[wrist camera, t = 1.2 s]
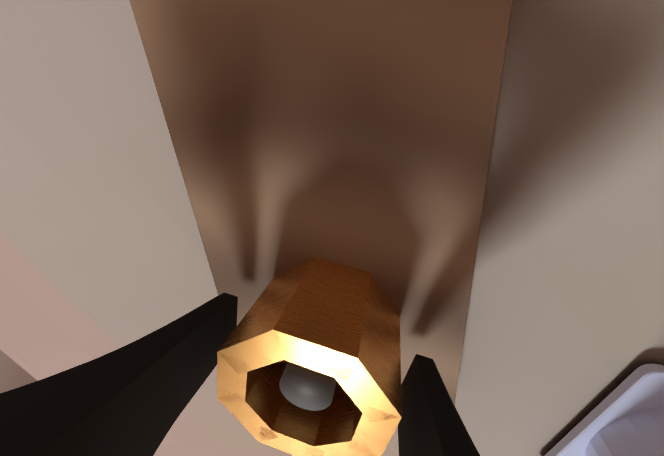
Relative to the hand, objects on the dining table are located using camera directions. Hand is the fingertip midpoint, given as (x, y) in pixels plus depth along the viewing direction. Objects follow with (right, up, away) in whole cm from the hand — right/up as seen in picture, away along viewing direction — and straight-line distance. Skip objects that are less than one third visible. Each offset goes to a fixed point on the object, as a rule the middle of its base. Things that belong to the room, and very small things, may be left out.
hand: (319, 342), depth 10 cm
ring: (0, +1, +1) cm, 2 cm away
